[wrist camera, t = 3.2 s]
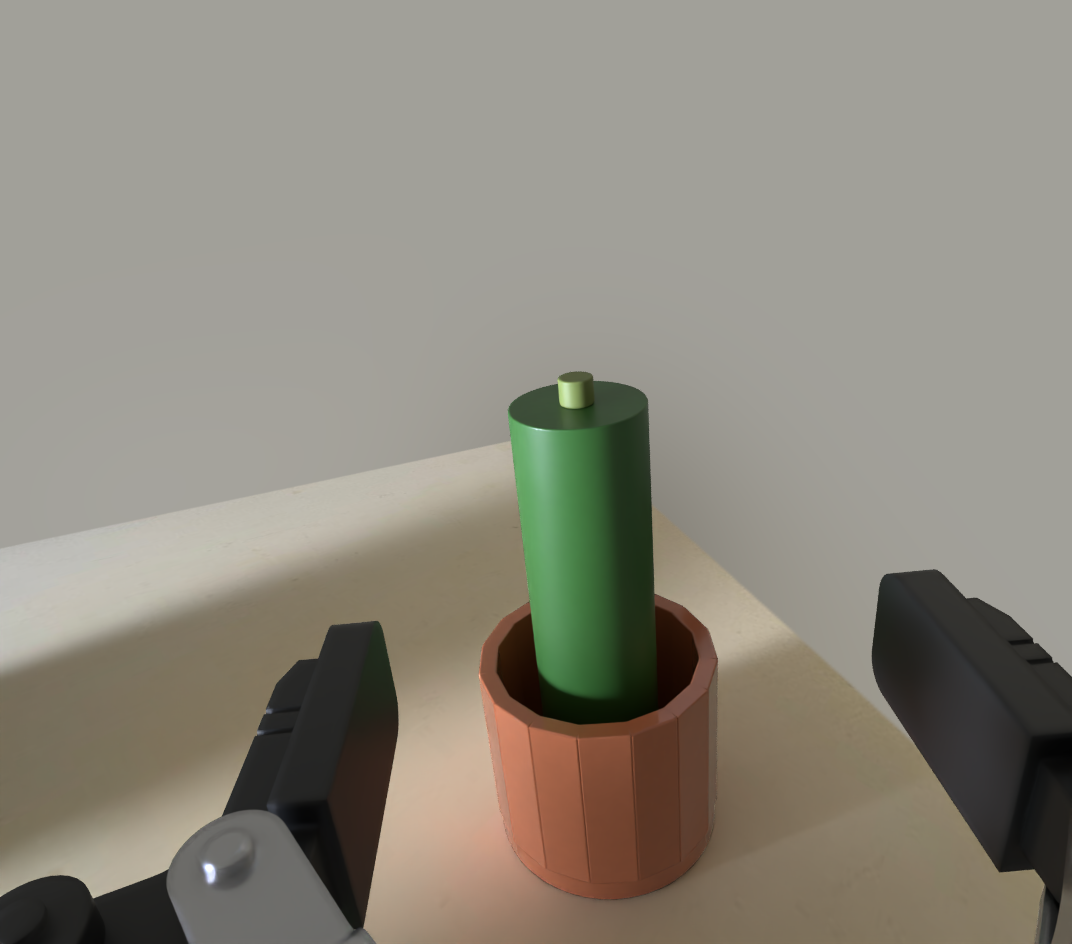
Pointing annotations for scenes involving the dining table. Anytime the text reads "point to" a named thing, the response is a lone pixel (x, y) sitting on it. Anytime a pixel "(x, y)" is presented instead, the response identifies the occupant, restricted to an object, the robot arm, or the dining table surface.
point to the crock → (605, 766)
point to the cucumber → (588, 546)
